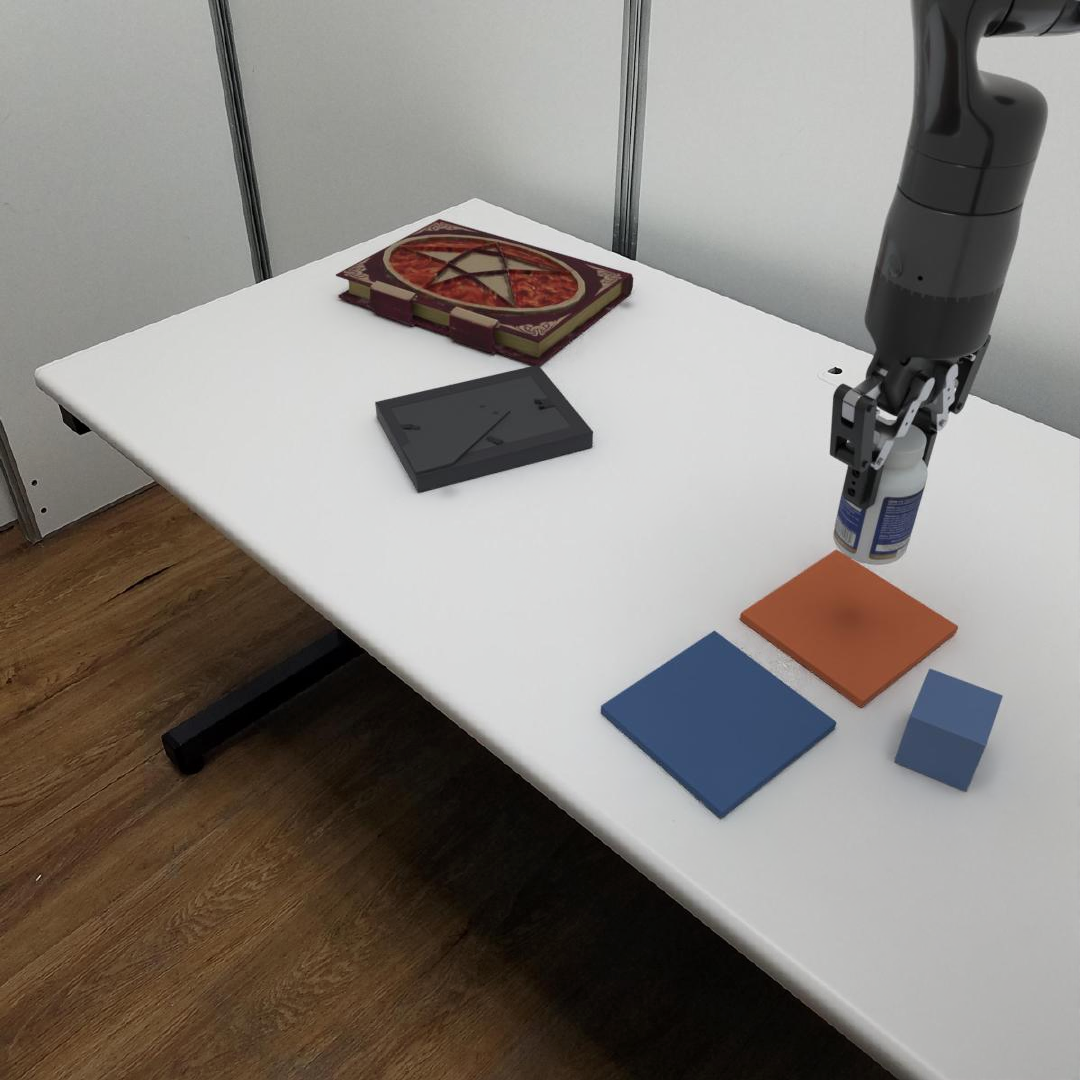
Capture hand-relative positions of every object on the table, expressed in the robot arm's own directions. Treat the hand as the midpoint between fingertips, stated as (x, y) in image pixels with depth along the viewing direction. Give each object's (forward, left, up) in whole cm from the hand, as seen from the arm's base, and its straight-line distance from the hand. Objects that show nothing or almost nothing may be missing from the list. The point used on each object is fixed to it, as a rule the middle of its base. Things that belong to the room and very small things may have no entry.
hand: (884, 484), depth 75 cm
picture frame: (+40, +6, -14) cm, 43 cm away
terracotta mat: (0, 0, -14) cm, 14 cm away
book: (+62, -11, -14) cm, 65 cm away
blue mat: (0, +15, -14) cm, 21 cm away
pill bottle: (0, 0, -6) cm, 6 cm away
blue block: (-12, +5, -14) cm, 19 cm away
